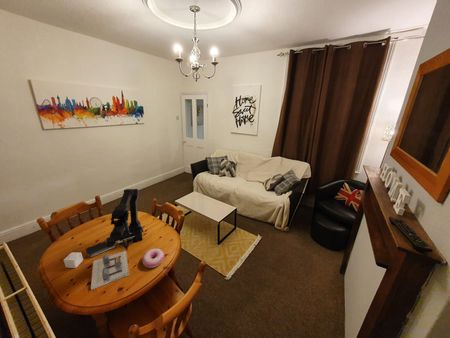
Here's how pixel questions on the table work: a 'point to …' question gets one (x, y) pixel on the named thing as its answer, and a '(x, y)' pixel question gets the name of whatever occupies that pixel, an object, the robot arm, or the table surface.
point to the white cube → (73, 260)
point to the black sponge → (98, 249)
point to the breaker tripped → (117, 261)
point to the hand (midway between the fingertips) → (126, 248)
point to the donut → (153, 262)
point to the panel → (114, 271)
